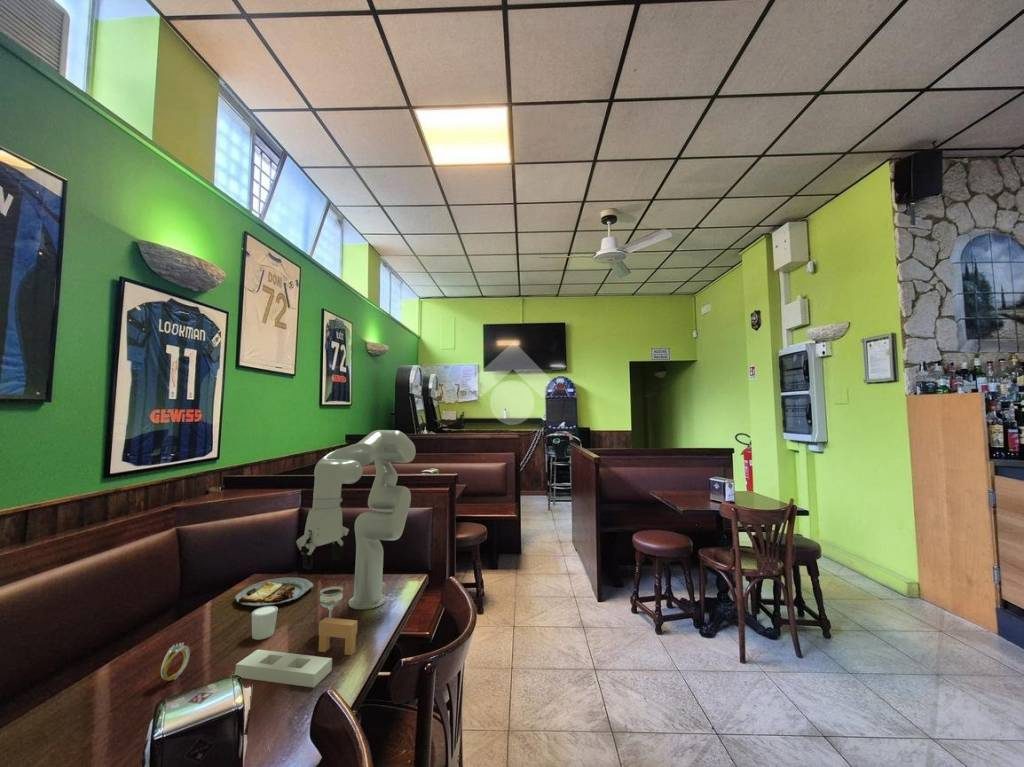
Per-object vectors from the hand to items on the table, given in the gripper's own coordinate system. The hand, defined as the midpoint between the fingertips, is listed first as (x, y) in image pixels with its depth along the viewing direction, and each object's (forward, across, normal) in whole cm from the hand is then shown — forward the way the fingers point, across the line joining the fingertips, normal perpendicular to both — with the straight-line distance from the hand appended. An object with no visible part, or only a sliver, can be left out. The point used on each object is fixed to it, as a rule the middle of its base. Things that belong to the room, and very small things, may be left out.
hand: (322, 564), depth 117 cm
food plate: (+23, -18, -45) cm, 53 cm away
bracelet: (+24, +25, -20) cm, 40 cm away
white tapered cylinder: (+23, +2, -21) cm, 31 cm away
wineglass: (+23, -9, -5) cm, 25 cm away
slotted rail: (+23, +12, +3) cm, 26 cm away
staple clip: (+23, -2, +6) cm, 24 cm away
